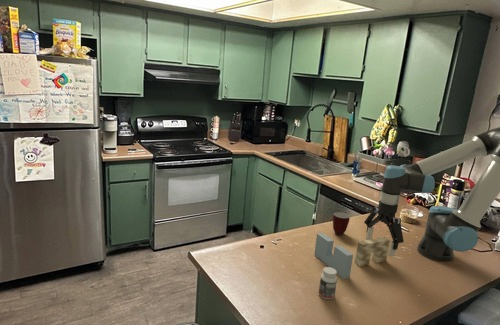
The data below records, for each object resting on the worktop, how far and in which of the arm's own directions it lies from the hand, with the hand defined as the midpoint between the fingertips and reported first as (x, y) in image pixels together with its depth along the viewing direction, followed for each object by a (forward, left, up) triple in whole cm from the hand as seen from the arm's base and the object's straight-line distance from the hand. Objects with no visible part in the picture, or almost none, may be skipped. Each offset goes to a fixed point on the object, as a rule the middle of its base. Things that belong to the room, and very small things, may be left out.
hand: (379, 247), depth 152 cm
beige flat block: (+2, +4, -6) cm, 7 cm away
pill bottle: (+7, +40, -6) cm, 41 cm away
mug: (+23, -13, -6) cm, 27 cm away
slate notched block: (+14, +19, -6) cm, 24 cm away
